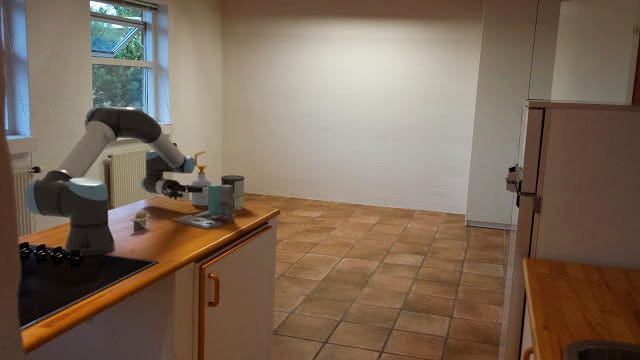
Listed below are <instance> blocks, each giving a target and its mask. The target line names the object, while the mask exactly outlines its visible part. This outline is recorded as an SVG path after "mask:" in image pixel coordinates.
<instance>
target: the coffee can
mask: <svg viewBox="0 0 640 360" xmlns="http://www.w3.org/2000/svg"><path fill="white" fill-rule="evenodd" d="M220 179H221V183H220V184H221V186H222V185H232V186H233V211H240V210H243V209H244V208H245V206H244V205H245V176H243V175H233V174H232V175H228V174H227V175H222V176H221V178H220Z"/></svg>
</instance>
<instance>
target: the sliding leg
mask: <svg viewBox="0 0 640 360" xmlns="http://www.w3.org/2000/svg"><path fill="white" fill-rule="evenodd" d="M221 185H222V184H221ZM221 185H220V184H215V183H214V184H212V185H208V205H207V211H206V210H205V211H206V213H201V214H197V215H196V217H197V216H201V215H206V214H208V215H212V216H216V215H220V186H221Z"/></svg>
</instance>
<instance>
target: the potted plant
mask: <svg viewBox="0 0 640 360" xmlns="http://www.w3.org/2000/svg"><path fill="white" fill-rule="evenodd" d="M134 215H135V217H132V218H130V219H129V220H130V222H133V232H136V231H137V230H140V229H141V228H144V229H145V228H147V218H150V214H147V211H144V210H141V211H140V212H138V213H135V214H134Z"/></svg>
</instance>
